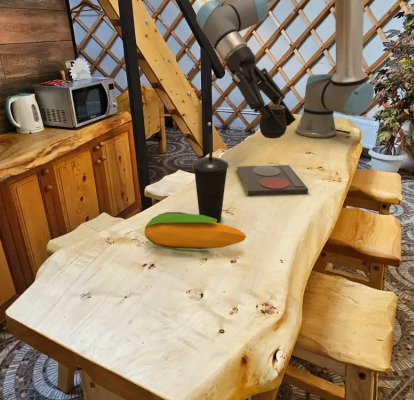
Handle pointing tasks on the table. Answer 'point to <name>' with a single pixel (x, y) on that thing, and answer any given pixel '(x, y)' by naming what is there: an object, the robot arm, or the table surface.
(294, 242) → the table surface
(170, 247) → the corn
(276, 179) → the hob
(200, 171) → the drinking cup
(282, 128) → the mate gourd
